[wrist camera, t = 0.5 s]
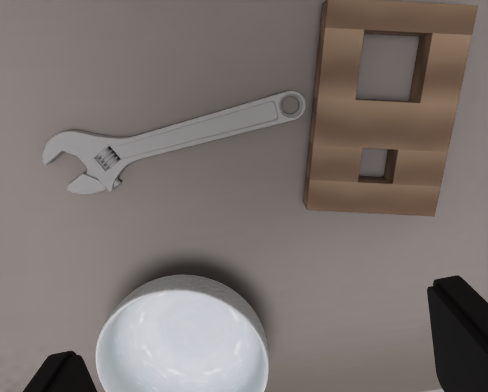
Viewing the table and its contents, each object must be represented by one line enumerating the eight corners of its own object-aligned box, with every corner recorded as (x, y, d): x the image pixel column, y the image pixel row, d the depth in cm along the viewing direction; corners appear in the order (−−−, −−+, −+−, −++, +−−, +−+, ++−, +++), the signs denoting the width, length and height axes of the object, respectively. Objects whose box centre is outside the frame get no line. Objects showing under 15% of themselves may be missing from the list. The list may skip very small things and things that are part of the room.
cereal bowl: (102, 262, 41) (73, 299, 35) (258, 246, 40) (259, 281, 34) (134, 390, 46) (115, 444, 40) (273, 379, 45) (277, 432, 39)
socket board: (322, 3, 34) (328, -2, 31) (461, 10, 33) (477, 5, 31) (303, 201, 39) (306, 209, 36) (423, 207, 39) (434, 216, 36)
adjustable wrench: (300, 85, 36) (303, 86, 34) (310, 152, 38) (312, 156, 36) (45, 134, 38) (36, 137, 36) (66, 196, 40) (58, 202, 38)
